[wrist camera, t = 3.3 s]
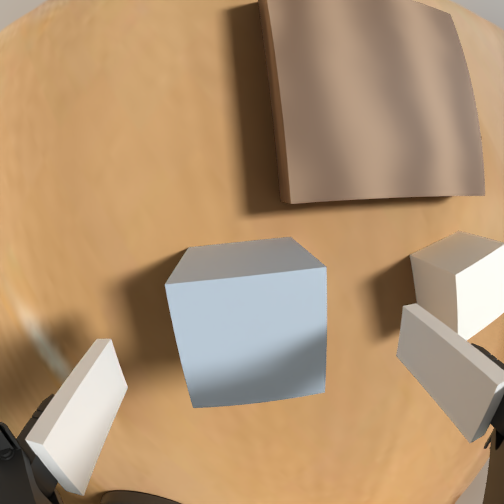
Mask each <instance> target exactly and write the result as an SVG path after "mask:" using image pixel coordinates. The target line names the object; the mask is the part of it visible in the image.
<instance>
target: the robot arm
mask: <svg viewBox="0 0 504 504" xmlns="http://www.w3.org/2000/svg"><path fill="white" fill-rule="evenodd" d="M396 356H397V357H398V358H399V360H400V361H401V362H402V363H403V364H404V365H405V366H406V368H407V369H408V370H409V371H410V372H411V373H412V375H413V376H414V377H415V378H416V379H417V380H418V381H419V383H420V384H421V385H422V386H423V387H424V388H425V390H426V391H427V392H428V393H429V394H430V396H431V397H432V398H433V399H434V400H435V401H436V403H437V404H438V405H439V406H440V407H441V409H442V410H443V411H444V412H445V413H446V415H447V416H448V417H449V418H450V419H451V421H452V422H453V423H454V424H455V426H456V427H457V428H458V429H459V430H460V432H461V433H462V434H463V435H464V437H465V438H466V439H467V440H468V442H469V443H471V442H473V441H475V440H477V439H478V438H480V437H482V436H483V435H484V434H485V432H486V431H487V429H488V427H489V425H490V423H491V425H492V426H493V427H494V429H493V431H492V433H491V435H490V437H489V438H488V440H487V442H486V443H485V446H484V449H486V448H487V446H488V445H489V443H490V442H491V447H490V460H489V468H488V476H487V483H486V489H485V494H484V500H483V504H504V364H503V363H502V362H501V361H499V360H497V358H496V357H494V356H493V355H491V354H490V353H489V352H488V351H487V350H485V349H484V348H483V347H480V346H478V345H475V344H473V343H472V344H470V343H469V342H467V341H466V340H465V339H464V338H462V337H461V336H460V335H458V334H457V333H456V332H454V331H453V330H452V329H450V328H449V327H448V326H446V325H445V324H444V323H442V322H441V321H440V320H438V319H437V318H436V317H434V316H433V315H432V314H430V313H429V312H428V311H426V310H425V309H423V308H422V307H421V306H419V305H418V304H417V303H415V304H410V305H406V306H403V311H402V320H401V328H400V335H399V342H398V349H397V355H396ZM127 389H128V387H127V384H126V381H125V378H124V376H123V373H122V370H121V367H120V364H119V362H118V359H117V356H116V353H115V349H114V346H113V343H112V340H111V339H96V341H95V342H94V343H93V344H92V346H91V347H90V348H89V350H88V351H87V352H86V353H85V355H84V356H83V357H82V359H81V360H80V361H79V363H78V364H77V365H76V367H75V368H74V369H73V371H72V372H71V373H70V375H69V376H68V378H67V379H66V380H65V382H64V383H63V384H62V386H61V387H60V389H59V390H58V391H57V393H56V394H55V395H53V394H52V395H50V396H49V397H48V398H46V399H45V400H44V401H42V403H41V404H40V406H39V407H38V408H37V411H35V413H34V414H33V415H32V418H30V420H29V421H28V423H27V424H26V426H25V427H24V428H23V430H22V431H21V433H20V434H19V436H18V437H17V439H16V438H15V437H14V435H13V434H12V433H11V431H10V430H9V428H8V426H7V425H6V424H4V423H2V422H0V504H63V501H62V499H61V497H60V494H59V492H58V491H57V490H56V488H55V487H56V485H57V482H58V483H59V484H60V485H61V486H62V487H63V488H64V489H65V490H66V491H68V492H71V493H75V494H79V495H83V496H84V494H85V491H86V488H87V485H88V483H89V480H90V477H91V475H92V472H93V470H94V467H95V464H96V462H97V459H98V457H99V454H100V452H101V449H102V447H103V444H104V442H105V440H106V437H107V435H108V432H109V430H110V428H111V425H112V423H113V421H114V418H115V416H116V414H117V411H118V409H119V407H120V404H121V402H122V400H123V398H124V395H125V393H126V391H127ZM100 504H179V503H177V502H174V501H171V500H168V499H164V498H161V497H157V496H153V495H148V494H143V493H137V492H129V491H113V492H108V493H106V494H104V495H103V497H102V499H101V503H100Z"/></svg>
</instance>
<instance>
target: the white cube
mask: <svg viewBox="0 0 504 504" xmlns="http://www.w3.org/2000/svg"><path fill="white" fill-rule="evenodd" d="M410 260H411V266H412V272H413V279H414V285H415V292H416V300H417V304H418V305H419V306H421V307H422V308H423V309H425V310H426V311H428V312H429V313H430V314H432V315H433V316H434V317H436V318H437V319H438V320H440V321H441V322H442V323H444V324H445V325H446V326H448V327H449V328H450V329H452V330H453V331H454V332H456V333H457V334H458V335H460V336H461V337H462V338H464V339H465V340H468V339H469V338H471V337H472V336H474V335H475V334H476V333H478V332H479V331H480V330H482V329H483V328H485V327H486V326H487V325H489V324H490V323H491V322H492V321H494V320H495V319H496V318H498V317H499V316H500V315H501V314H503V313H504V243H503V242H499V241H496V240H492V239H488V238H485V237H481V236H477V235H474V234H470V233H466V232H462V231H457V232H455V233H453V234H451V235H449V236H447V237H445V238H443V239H441V240H439V241H437V242H435V243H433V244H431V245H429V246H427V247H425V248H423V249H421V250H419V251H416V252H414V253H412V254H410Z"/></svg>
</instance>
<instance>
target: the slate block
mask: <svg viewBox="0 0 504 504" xmlns="http://www.w3.org/2000/svg"><path fill="white" fill-rule="evenodd" d="M165 288H166V294H167V299H168V304H169V309H170V314H171V319H172V324H173V329H174V333H175V338H176V342H177V347H178V351H179V355H180V360H181V364H182V368H183V372H184V376H185V380H186V384H187V387H188V391H189V395H190V398H191V402H192V406H193V408H203V407H219V406H232V405H243V404H252V403H261V402H269V401H276V400H283V399H290V398H296V397H302V396H307V395H313V394H318V393H323V392H325V377H326V347H327V273H326V266H325V265H324V264H322V263H321V262H320V261H319V260H318V259H316V258H315V257H314V256H313V255H312V254H311V253H309V252H308V251H307V250H306V249H305V248H303V247H302V246H301V245H300V244H299V243H297V242H296V241H295V240H294V239H293V238H291V237H283V238H273V239H263V240H254V241H244V242H235V243H225V244H216V245H207V246H197V247H188V249H187V251H186V252H185V254H184V255H183V257H182V258H181V260H180V261H179V263H178V264H177V266H176V267H175V269H174V271H173V272H172V274H171V275H170V277H169V278H168V280H167V282H166V283H165Z"/></svg>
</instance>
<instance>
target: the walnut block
mask: <svg viewBox="0 0 504 504" xmlns="http://www.w3.org/2000/svg"><path fill="white" fill-rule="evenodd" d="M258 5H259V12H260V19H261V27H262V34H263V41H264V49H265V57H266V65H267V73H268V81H269V90H270V99H271V108H272V117H273V127H274V136H275V147H276V157H277V168H278V179H279V190H280V201H282V202H286V203H289V204H297V203H310V202H324V201H339V200H355V199H374V198H397V197H427V196H485V179H484V163H483V152H482V142H481V134H480V127H479V120H478V114H477V108H476V103H475V98H474V93H473V88H472V84H471V79H470V75H469V71H468V67H467V64H466V60H465V56H464V53H463V50H462V46H461V43H460V40H459V37H458V34H457V31H456V28H455V26H454V23H453V20H452V18H451V15H450V14H448V13H446V12H443V11H441V10H438V9H435V8H433V7H430V6H427V5H425V4H422V3H419V2H416V1H413V0H258Z"/></svg>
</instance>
